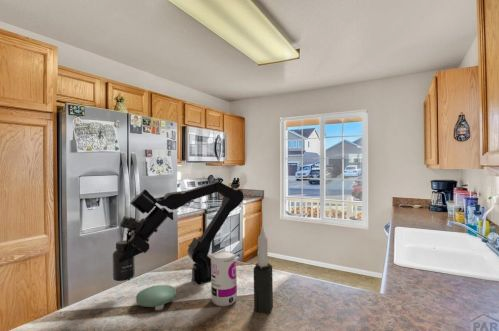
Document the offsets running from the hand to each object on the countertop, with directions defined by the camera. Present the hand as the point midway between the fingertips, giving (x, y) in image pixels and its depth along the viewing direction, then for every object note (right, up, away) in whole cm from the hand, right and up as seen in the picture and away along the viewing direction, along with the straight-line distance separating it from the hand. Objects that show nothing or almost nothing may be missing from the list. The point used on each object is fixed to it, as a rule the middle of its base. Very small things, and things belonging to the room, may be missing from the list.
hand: (119, 258), depth 89 cm
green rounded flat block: (+14, -13, -3) cm, 19 cm away
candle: (+48, -13, -8) cm, 51 cm away
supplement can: (+36, -13, -3) cm, 38 cm away
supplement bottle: (+1, -7, +1) cm, 7 cm away
